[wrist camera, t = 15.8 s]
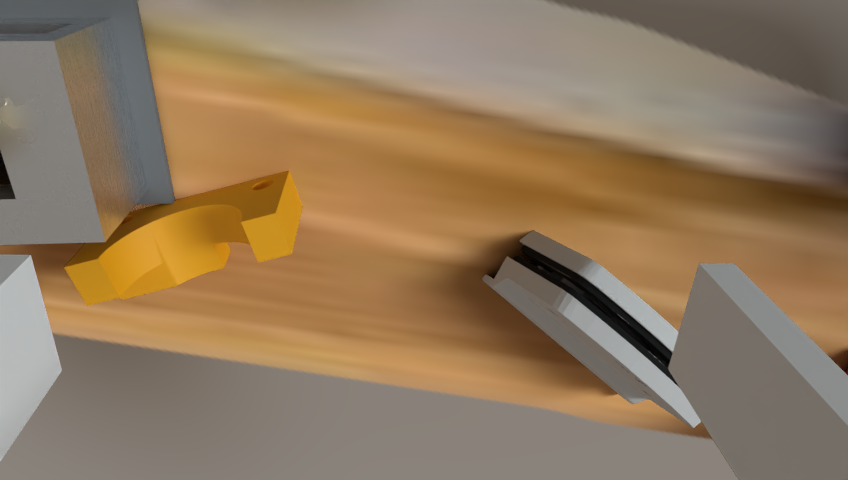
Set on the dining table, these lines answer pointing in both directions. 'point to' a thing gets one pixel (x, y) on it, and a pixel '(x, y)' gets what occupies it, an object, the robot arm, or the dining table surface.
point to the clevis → (64, 132)
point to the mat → (124, 12)
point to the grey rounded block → (595, 321)
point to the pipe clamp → (188, 239)
